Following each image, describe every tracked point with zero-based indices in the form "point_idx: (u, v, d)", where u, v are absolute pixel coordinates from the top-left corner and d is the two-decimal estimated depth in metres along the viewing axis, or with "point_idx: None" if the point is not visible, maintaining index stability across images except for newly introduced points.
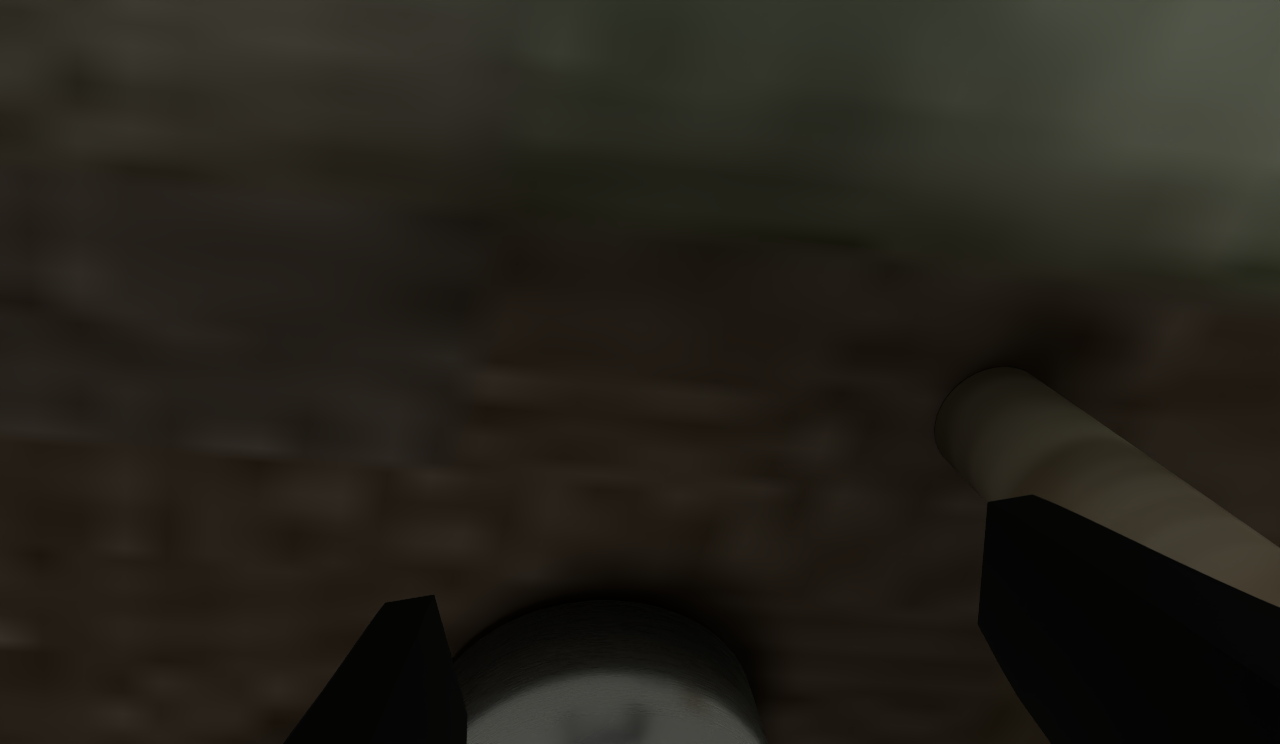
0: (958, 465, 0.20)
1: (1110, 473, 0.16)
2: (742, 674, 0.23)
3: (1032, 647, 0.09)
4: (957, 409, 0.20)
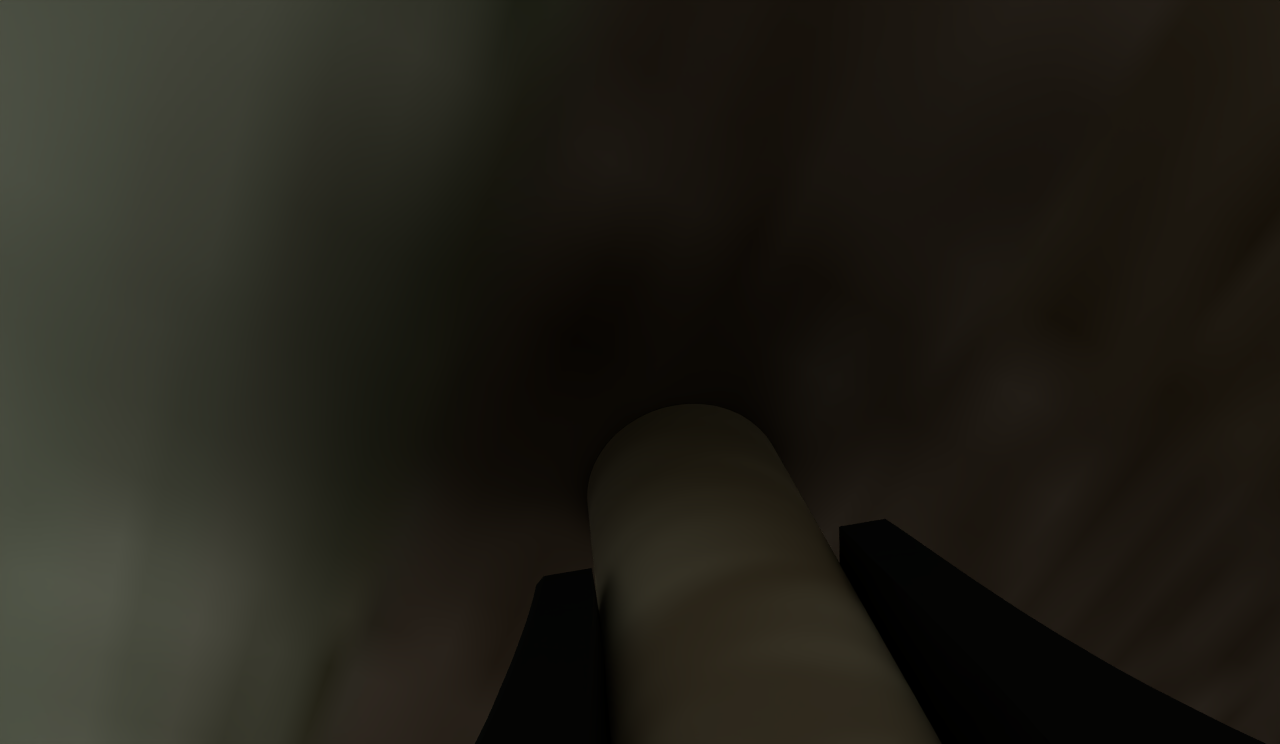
0: None
1: None
2: None
3: None
4: None
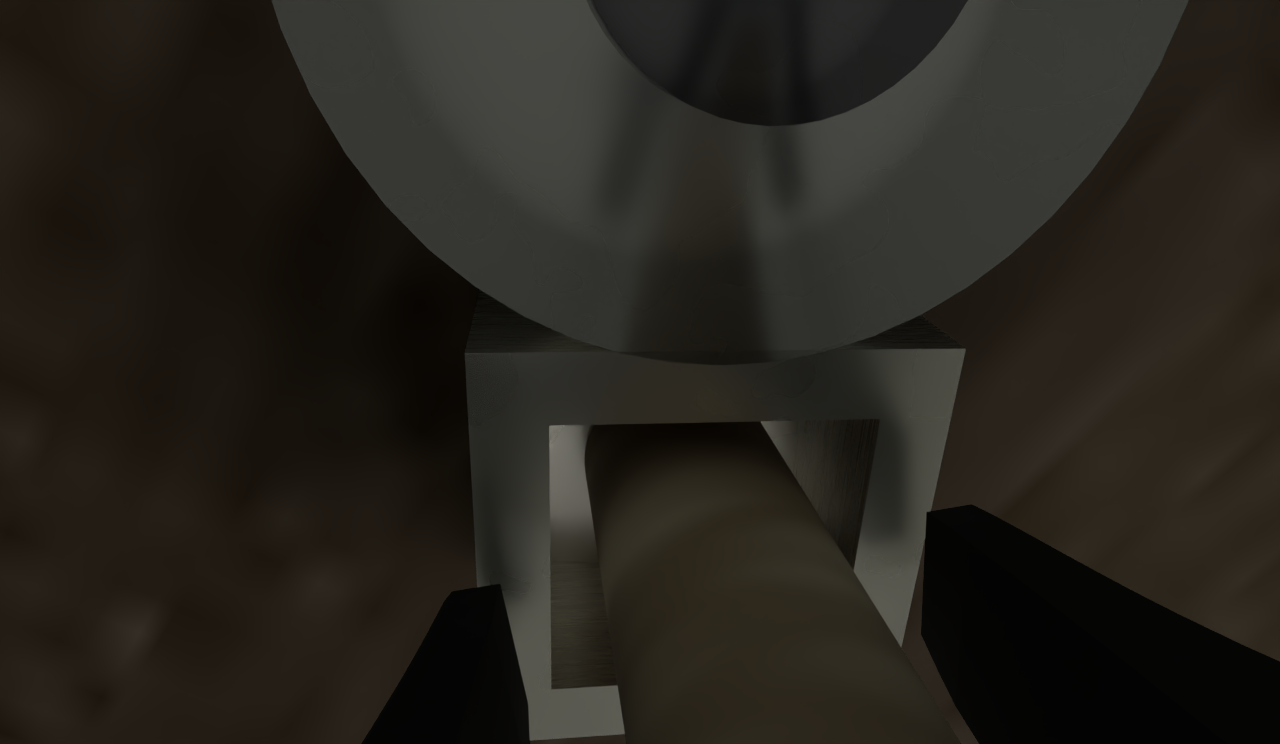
0: None
1: (622, 711, 0.09)
2: None
3: (967, 659, 0.09)
4: None
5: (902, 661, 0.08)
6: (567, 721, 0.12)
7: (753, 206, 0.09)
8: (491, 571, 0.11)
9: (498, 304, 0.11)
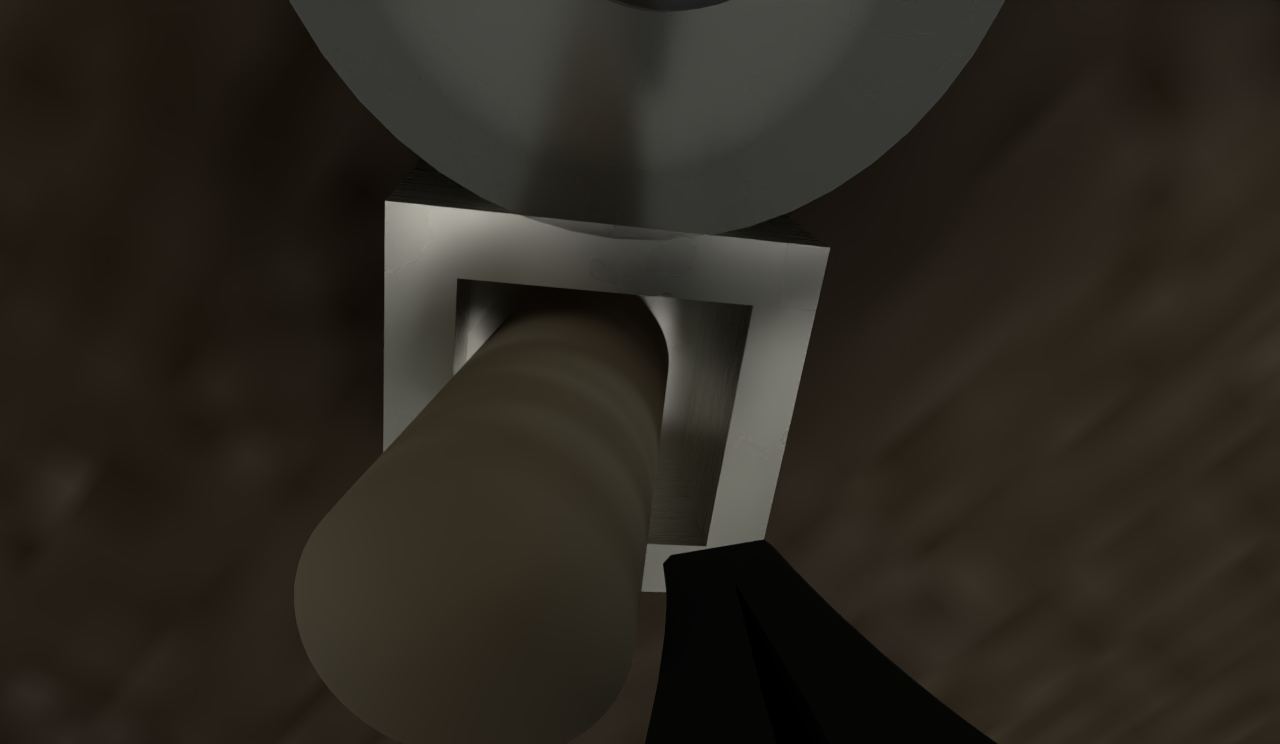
0: None
1: None
2: None
3: None
4: None
5: (609, 448, 0.08)
6: None
7: (648, 93, 0.10)
8: (397, 414, 0.12)
9: (426, 180, 0.12)
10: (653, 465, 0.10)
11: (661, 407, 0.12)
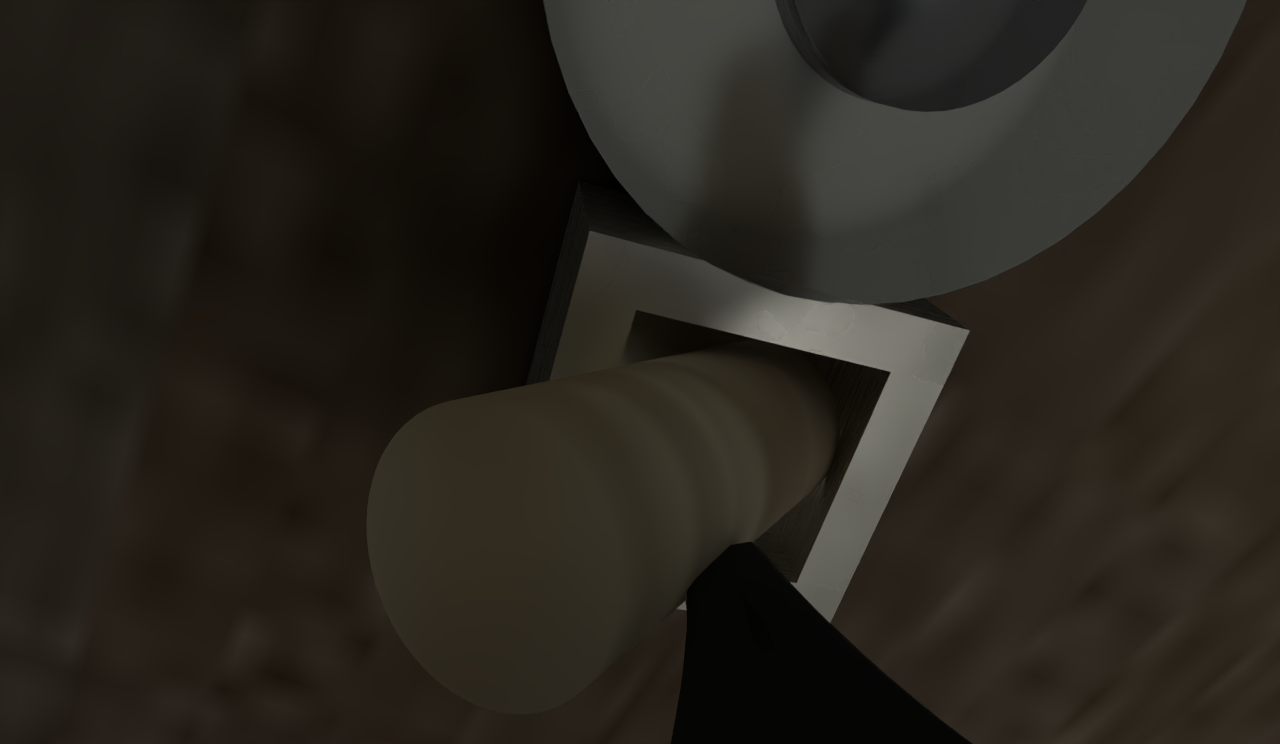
0: None
1: None
2: None
3: None
4: None
5: (678, 454, 0.09)
6: None
7: (845, 172, 0.11)
8: None
9: (603, 209, 0.13)
10: (743, 505, 0.10)
11: (793, 470, 0.12)
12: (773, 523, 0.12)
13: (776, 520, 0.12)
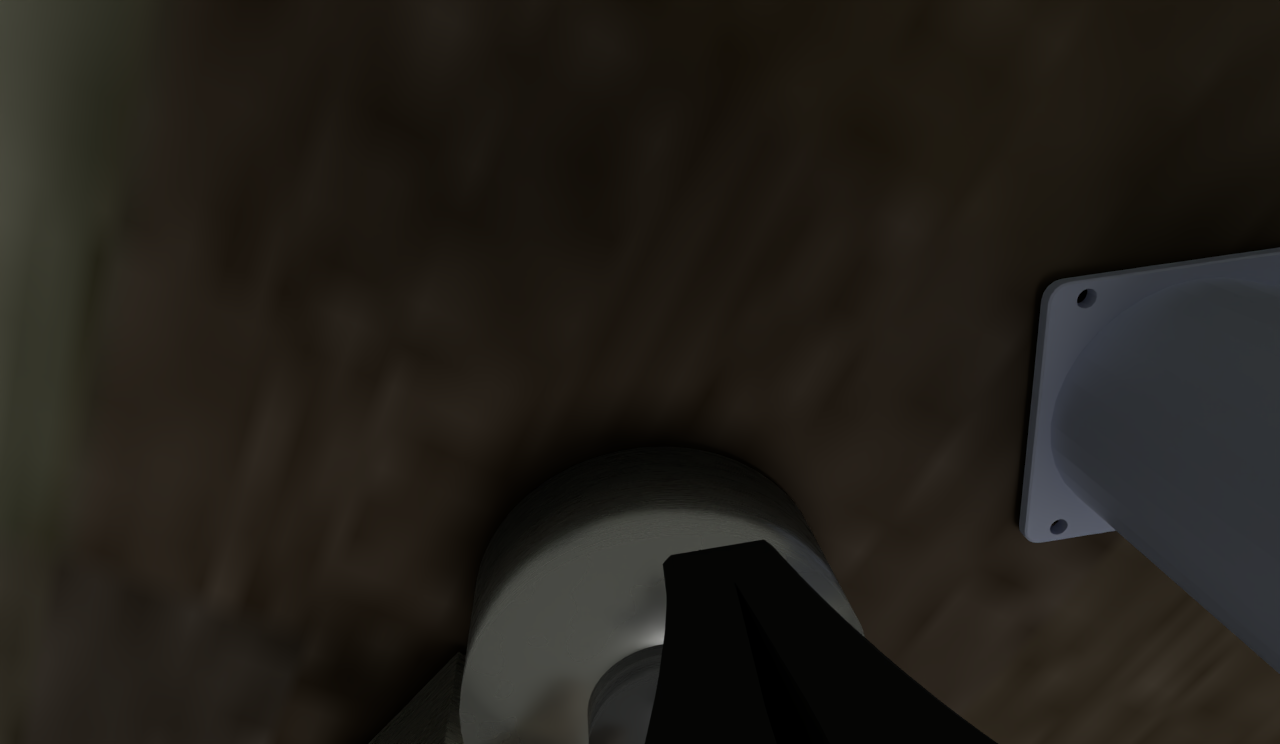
0: None
1: None
2: (762, 482, 0.21)
3: None
4: None
5: None
6: None
7: None
8: None
9: (459, 715, 0.21)
10: None
11: None
12: None
13: None
